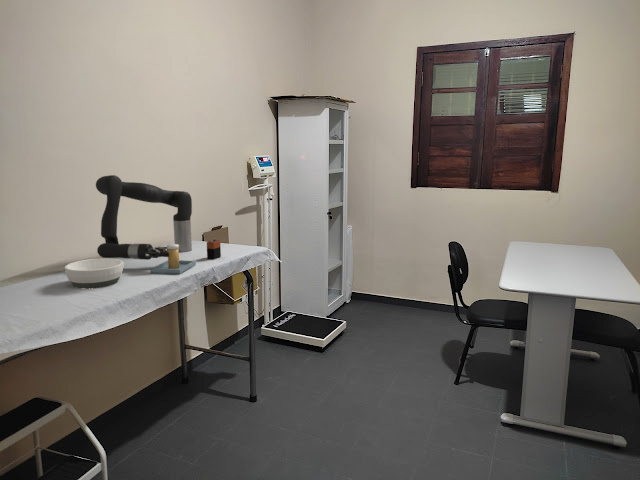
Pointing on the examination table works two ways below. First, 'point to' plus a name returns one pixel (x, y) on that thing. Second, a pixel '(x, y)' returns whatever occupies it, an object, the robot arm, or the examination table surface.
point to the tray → (164, 269)
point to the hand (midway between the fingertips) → (172, 252)
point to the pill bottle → (173, 256)
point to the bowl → (94, 272)
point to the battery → (213, 249)
